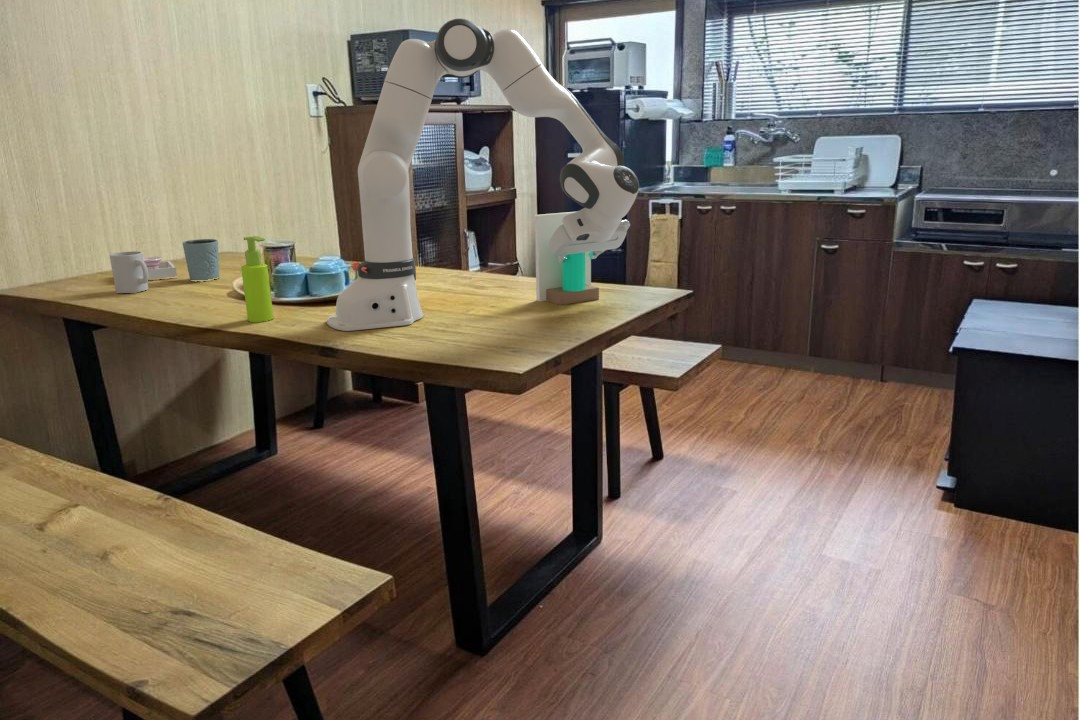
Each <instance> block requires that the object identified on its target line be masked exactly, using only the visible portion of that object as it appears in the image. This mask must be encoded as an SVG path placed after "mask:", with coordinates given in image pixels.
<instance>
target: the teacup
mask: <svg viewBox="0 0 1080 720" xmlns="http://www.w3.org/2000/svg"><path fill="white" fill-rule="evenodd" d="M143 259H144V262H145V264H146V266H147V269H148V270H149V269H159V264H160V263H159V262H162V256H160V255H159V256H157V255H156V256H154V255H153V256H143Z"/></svg>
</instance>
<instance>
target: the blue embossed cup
mask: <svg viewBox="0 0 1080 720" xmlns="http://www.w3.org/2000/svg"><path fill="white" fill-rule="evenodd" d="M182 247H183V252H184V258H185V261H186V267H187V271H188V276H189V281H190V280H208V279H213V278H217V277H219V276H221V275H220V263H219V262H220V259H219V258H220V256H219V242H218V240H217V239H213V238H212V239H210V238H203V239H189V240H184V241H182Z"/></svg>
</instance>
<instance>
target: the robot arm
mask: <svg viewBox="0 0 1080 720" xmlns="http://www.w3.org/2000/svg"><path fill="white" fill-rule="evenodd" d="M435 37H436V38H435V40H432V41H426V40H422V39H418V38H409V39H406V40H404V41H402V42H401V43H400V44H399V46H398V48H396V49H397V50H396V51H395V53H394V56H393V58H392V60H391V62H390V64H389V66H388V69H387V73H386V75H385V77H384V81H383V84H382V85H383V86H382V88H381V92H380V95H379V97H378V101H377V103H376V104H377V105H376V108H375V112H374V115H373V117H372V122H371V125H370V127H369V131H368V135H367V137H366V141H365V144H364V146H363V147H364V148H363V150H362V154H361V157H360V159H359V163H358V167H357V177H358V187H359V188H358V189H359V199H360V214H361V227H362V238H363V239H362V240H363V249H364V260H363V261H362V262H357V261H353V262H352V263H351V264H350V268H351V269H352V270H353V271H355V272H357V274H358V277H357V278H356V279H355V280H354V281H353V282H352V283H351V284H349V286H347V287H346V288H345V289H344V290H343V291H342V292H341V293H339V294H338V296H337V298H336V305H335V315H334V314H333V315H329V316H328V317H327V319H326V323H327V325H328V326H329V327H330V328H332V329H334V330H339V331H344V332H350V331H360V330H370V329H381V328H391V327H400V326H409V325H412V324H413V323H414V322H415V321H418V320H420V319H422V318H423V317H424V313H423V310H422V307H421V304H420V300H419V296H418V291H417V285H416V280H417V268H416V261H415V258H414V257H413V244H412V229H411V196H410V194H411V193H410V192H411V190H410V173H409V170H410V169H409V168H410V165H411V162H412V160H413V157H414V154H415V151H416V148H417V145H418V143H419V141H420V138H421V136H422V133H423V130H424V126H425V124H426V120H427V117H428V113H429V110H430V107H431V103H432V100H433V97H434V94H435V90H436V87H437V85H438V83H439V81H440V79H441V78H455V79H464V78H465V79H466V78H469V77H471V76H473V75H475V74H476V73H477V72H478V71H482V72H484V73H487V74H488V75H489V76H490V77H491V78H492V79H493V80H494V81H495V83H496V85H497V86H498V88H499V90H500V91H501V93H502V95H503V96H504V97H505V99H506V102H507V103H508V104H509V106H511V108H512V109H513V110H514V111H515V112H516V113H517V114H519V115H521V116H524V117H528V118H552V119H556V120H558V121H559V122H560V123H561V124H562V125H564V127H565V128H566V129H567V130H568V132H569V133H570V135H572V137H573V138H574V139H575V140H576V142H577V144H578V145H579V146H580V147H581V149H582V152H581V153H580V154H579V155H578V156H575V157H573V159H572V160H570V161H569V162H567V164H566V165H564V166H562V168H561V169H560V173H559V183H560V187H561V188H562V191H563V192H564V193H565V195H566V196H567V197H568V198H569V199H571V200H572V201H574V202H575V203H577V204H578V205H579V206H582V207H583V208H581V209H579V210H577V211H574V212H575V213H572V214H569V215H566V216H564V217H563V219H562V222H563V224H562V225H560V226H559V227H558V228H557V229H556V231H555V232H554V234H553V235H552V237H551V239H550V241H549V247H550V249H551V251H552V253H553V255H554V256H558V258H557V259H558V261H559V263H564V262H565V261H566V260H567V258H566V255H568V254H576V253H584V252H590V253H589V254H588V255H589V257H590V259H591V260H596V259H597V257H599V255H601V254H603V253H604V252H605V251H608V250H609V251H610V250H616V249H618V248H620V246H622V244H623V242H624V241H625V239H626V236H627V234H628V233H627V231H628V229H629V228H630V227H631V222H630V221H629V220H628V219H622V218H624V217H625V216H626V215H628V213H629V212H630V210H631V208H632V206H633V205H634V203H635V201H636V199H637V196H638V193H639V189H640V184H639V179H638V176H637V175H636V174H635V172H634V171H633V170H632V169H630V168H629V167H627V166H625V157H624V154H623V152H622V150H621V149H620V147H619V146H618V145H617V143H615V142H614V141H613V140H612V139H610V138H609V137H608V136H607V135H606V134H605V133H604V132H603V131H602V130H601V128H600V127H599V126H598V125H597V123H596V122H595V120H594V119H593V118H592V116H591V115H590V114H589V113H588V112H587V110H586V108H584V106H583V105H582V104H581V102H580V100H578V98H576V96H575V95H574V94H573V92H571V91H570V90H569V89H568V88H567V87H565V86H564V85H562V84H560V83H559V82H558V81H557V80H556V79H555V78H554V77H553V76H552V75H551V73H550V72H549V71H548V70H547V68H546V67H545V66H544V63H543V62H542V60H541V59H540V58H539V56H538V54H537V53H536V52H535V50H534V49H533V48H532V46H531V44H529V43H528V41H526V39H525V38H524V37H523V36H522V35H521V34H520V33H519V32H518V31H517V30H516V29H513V28H504V29H500V30H498V31H496V32H494V33H493V34H492V32H491V31H489V30H487V29H485V28H483V27H482V26H480V25H478V24H477V23H475V22H473V21H471V20H469V19H466V18H454V19H451V20H449V21H447V22H445V23H444V24H443V25H442V26H441V27H440V29H439V30H438V31H437V33H436V36H435Z"/></svg>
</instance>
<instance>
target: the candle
mask: <svg viewBox="0 0 1080 720" xmlns="http://www.w3.org/2000/svg"><path fill="white" fill-rule="evenodd" d="M566 258H567V260H566V261H565V262H564V263H562V274H563V290H565V291H583V290H585V252H584V253H576V254H568V255H566Z"/></svg>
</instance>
